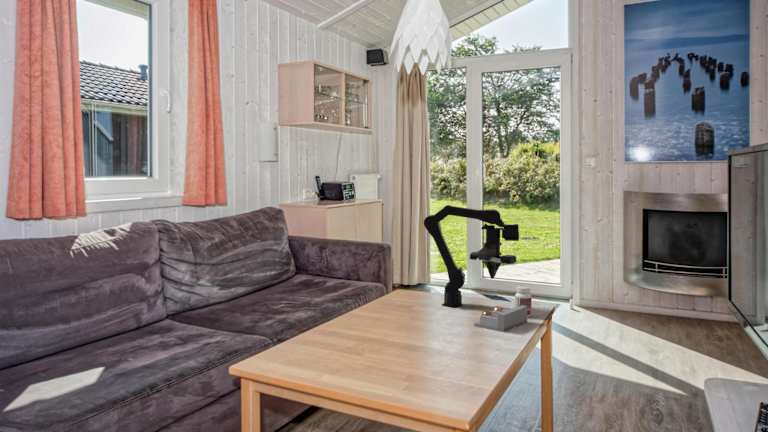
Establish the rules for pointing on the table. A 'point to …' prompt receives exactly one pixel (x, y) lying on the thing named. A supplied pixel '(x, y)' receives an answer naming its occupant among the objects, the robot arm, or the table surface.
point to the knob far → (499, 309)
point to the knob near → (490, 314)
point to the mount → (504, 319)
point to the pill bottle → (523, 298)
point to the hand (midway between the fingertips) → (492, 278)
